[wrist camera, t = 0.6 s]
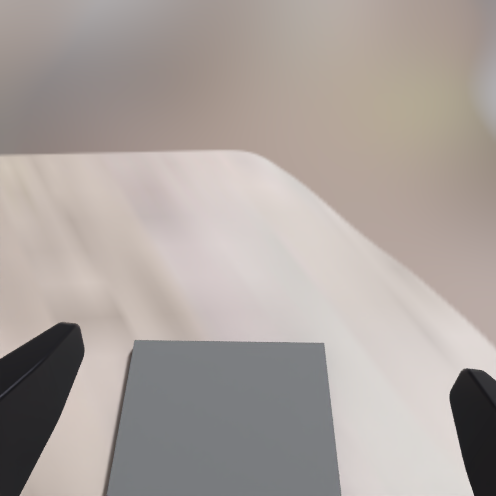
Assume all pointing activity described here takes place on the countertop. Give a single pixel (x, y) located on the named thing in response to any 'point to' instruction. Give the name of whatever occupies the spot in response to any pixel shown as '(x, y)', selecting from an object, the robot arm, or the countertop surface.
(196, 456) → the key mat
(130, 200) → the countertop surface
